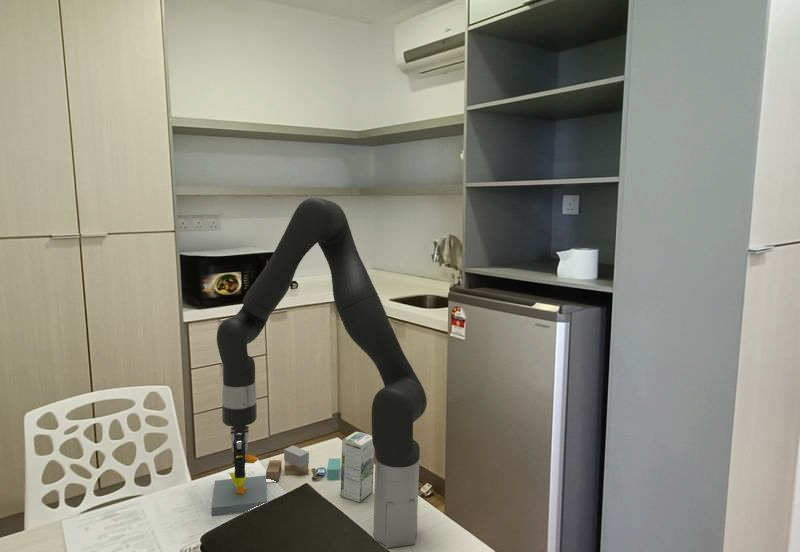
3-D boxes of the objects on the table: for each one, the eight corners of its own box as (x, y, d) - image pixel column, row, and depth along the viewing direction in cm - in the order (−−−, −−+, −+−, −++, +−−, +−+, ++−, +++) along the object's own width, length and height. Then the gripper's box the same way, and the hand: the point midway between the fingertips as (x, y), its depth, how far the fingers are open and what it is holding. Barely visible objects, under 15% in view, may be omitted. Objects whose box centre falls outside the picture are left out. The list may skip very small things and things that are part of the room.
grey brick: (308, 463, 138) (308, 452, 138) (300, 467, 136) (300, 456, 136) (292, 456, 142) (292, 445, 142) (284, 460, 140) (284, 449, 139)
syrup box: (353, 485, 133) (354, 430, 131) (373, 492, 130) (375, 436, 128) (339, 496, 128) (340, 438, 126) (360, 503, 125) (361, 444, 124)
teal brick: (339, 480, 136) (339, 469, 136) (327, 480, 136) (327, 469, 135) (340, 469, 142) (340, 458, 142) (328, 469, 142) (328, 458, 141)
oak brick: (308, 469, 141) (308, 458, 141) (308, 475, 138) (308, 464, 138) (285, 470, 140) (285, 459, 140) (284, 476, 137) (284, 465, 137)
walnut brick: (278, 483, 134) (278, 471, 134) (266, 483, 134) (266, 471, 133) (281, 471, 140) (281, 460, 139) (269, 471, 140) (269, 460, 139)
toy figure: (258, 489, 127) (260, 441, 125) (253, 497, 123) (254, 448, 122) (230, 485, 127) (232, 438, 126) (224, 493, 124) (226, 444, 122)
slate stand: (267, 509, 122) (267, 501, 122) (211, 516, 119) (211, 507, 118) (266, 482, 133) (266, 475, 133) (215, 488, 130) (214, 480, 130)
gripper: (256, 412, 117) (257, 485, 119) (256, 389, 131) (256, 455, 133) (220, 414, 115) (221, 488, 117) (223, 391, 129) (224, 458, 131)
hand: (240, 470), depth 125 cm, fingers open, 5 cm apart
